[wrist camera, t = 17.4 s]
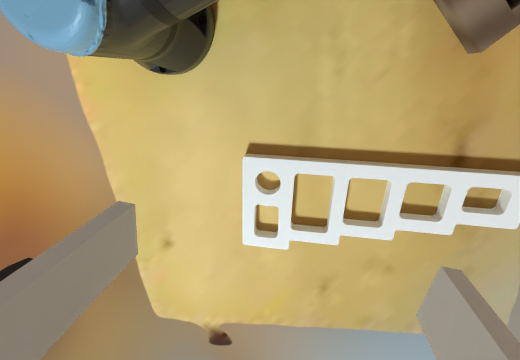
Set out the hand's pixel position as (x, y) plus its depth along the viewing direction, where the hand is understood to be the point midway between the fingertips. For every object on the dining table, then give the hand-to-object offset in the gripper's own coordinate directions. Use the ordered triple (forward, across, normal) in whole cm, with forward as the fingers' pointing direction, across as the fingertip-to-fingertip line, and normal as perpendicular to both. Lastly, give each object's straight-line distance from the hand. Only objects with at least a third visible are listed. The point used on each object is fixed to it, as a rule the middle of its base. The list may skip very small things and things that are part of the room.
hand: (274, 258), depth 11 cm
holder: (+36, +15, -13) cm, 41 cm away
